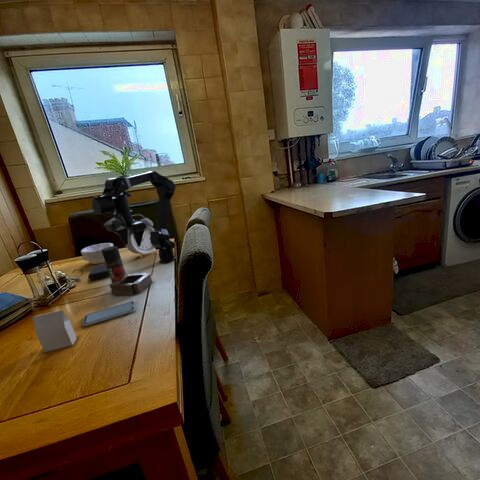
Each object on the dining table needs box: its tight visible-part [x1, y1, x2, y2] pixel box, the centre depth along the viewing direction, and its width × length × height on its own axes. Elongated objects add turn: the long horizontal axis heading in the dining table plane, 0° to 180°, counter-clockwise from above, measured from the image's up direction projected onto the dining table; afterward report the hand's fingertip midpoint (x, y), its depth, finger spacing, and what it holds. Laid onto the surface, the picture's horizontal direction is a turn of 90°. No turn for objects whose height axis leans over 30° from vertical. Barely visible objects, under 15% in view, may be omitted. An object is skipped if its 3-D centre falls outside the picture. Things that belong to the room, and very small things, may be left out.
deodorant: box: [101, 245, 127, 284], centre depth 114 cm, size 6×6×15 cm
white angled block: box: [32, 309, 78, 353], centre depth 75 cm, size 4×7×10 cm, turn 107°
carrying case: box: [87, 263, 110, 281], centre depth 129 cm, size 11×3×15 cm
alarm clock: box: [124, 213, 157, 259], centre depth 147 cm, size 16×9×22 cm, turn 147°
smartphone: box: [82, 301, 136, 327], centre depth 90 cm, size 7×1×15 cm
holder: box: [109, 272, 153, 297], centre depth 108 cm, size 11×11×4 cm
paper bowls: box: [80, 242, 114, 265], centre depth 148 cm, size 15×15×8 cm
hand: (132, 245), depth 120 cm, fingers open, 9 cm apart
